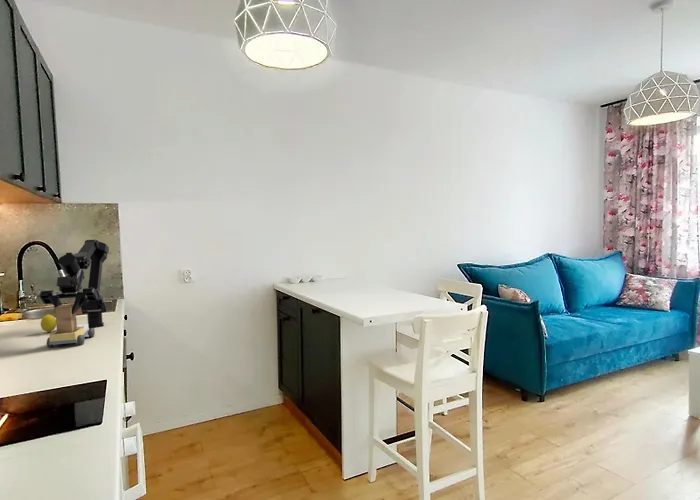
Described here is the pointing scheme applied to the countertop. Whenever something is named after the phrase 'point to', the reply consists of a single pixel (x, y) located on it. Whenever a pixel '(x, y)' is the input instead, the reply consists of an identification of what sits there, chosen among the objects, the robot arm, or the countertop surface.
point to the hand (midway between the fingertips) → (64, 314)
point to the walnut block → (65, 319)
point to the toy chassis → (71, 336)
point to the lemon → (48, 323)
